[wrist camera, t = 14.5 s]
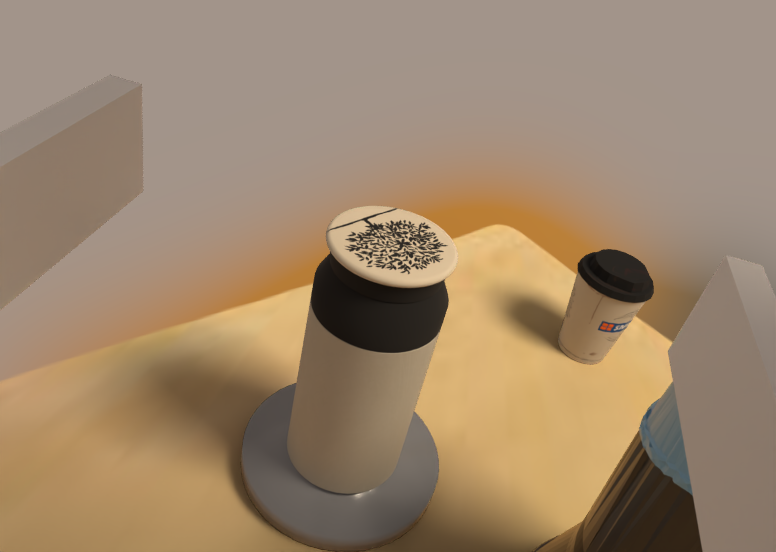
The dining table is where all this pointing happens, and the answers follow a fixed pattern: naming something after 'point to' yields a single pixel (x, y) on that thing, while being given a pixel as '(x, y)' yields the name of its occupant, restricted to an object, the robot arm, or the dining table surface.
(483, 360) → the dining table surface
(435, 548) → the dining table surface
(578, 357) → the coffee cup
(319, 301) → the travel mug
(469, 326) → the dining table surface
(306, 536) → the charcoal plate
